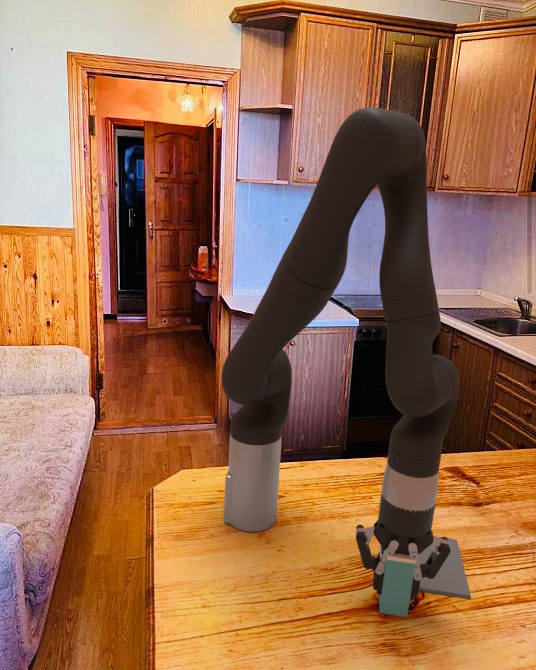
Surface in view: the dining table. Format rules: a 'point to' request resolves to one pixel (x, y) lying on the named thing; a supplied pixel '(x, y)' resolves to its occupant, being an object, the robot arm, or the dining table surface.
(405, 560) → the block
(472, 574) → the dining table surface
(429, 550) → the mat
